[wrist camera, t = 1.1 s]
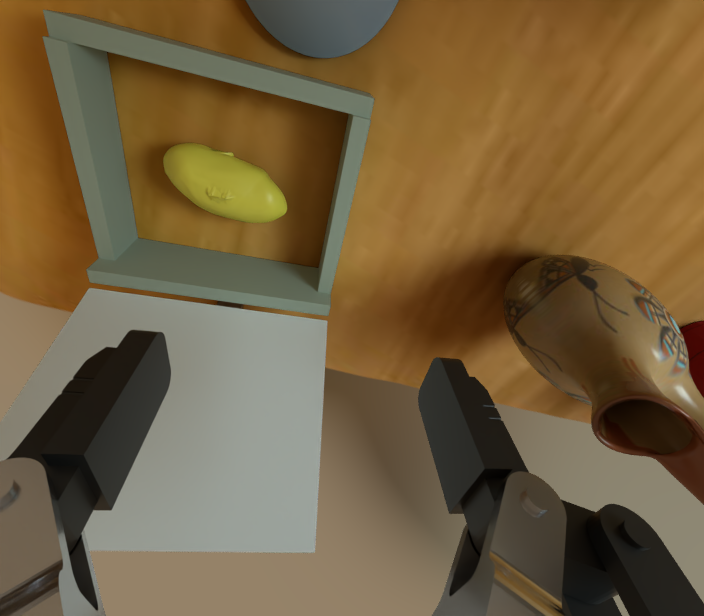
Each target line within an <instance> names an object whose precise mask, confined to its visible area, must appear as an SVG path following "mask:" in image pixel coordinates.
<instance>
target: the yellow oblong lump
mask: <svg viewBox="0 0 704 616" xmlns="http://www.w3.org/2000/svg"><path fill="white" fill-rule="evenodd" d="M163 165H164V170H165V173H166V174H167V176H168V177H169V179H170V180H171V182H172V183H173V184H174V185H175V187H176V188H177V189H178V190H179V191H180V192H181V193H183V194H184V195H185V196H186V197H187V198H188V199H190V200H191V201H192V202H193V203H194V204H196V205H197V206H199V207H200V208H202V209H204V210H206V211H208V212H210V213H213V214H216V215H218V216H222V217H226V218H230V219H234V220H238V221H242V222H248V223H266V222H270V221H273V220H276V219H278V218H280V217H281V216H283V215H284V214H285V213H286V211H287V203H286V199H285V197H284V195H283V193H282V191H281V190H280V189H279V188H278V186H277V185H276V184H275V183H274V182H273V181H272V180H271V179H270V177H269V176H268V174H267V173H266V172H265V171H264V170H263V169H262V168H260V167H258V166H255V165H252V164H250V163H247V162H245V161H243V160H240V159H238V158H235V157H234V154H233V152H231V153H228V152H222V151H218V150H215V149H212V148H210V147H207V146H204V145H201V144H197V143H183V144H178V145H175V146H173V147H171V148H170V149H169V150H168V151H167V152H166V154H165V155H164V158H163Z"/></svg>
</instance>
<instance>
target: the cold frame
mask: <svg viewBox="0 0 704 616" xmlns="http://www.w3.org/2000/svg"><path fill="white" fill-rule="evenodd" d="M43 12H44V16H45V20H46V25H47V29H48V33H49V37H46V36H42V37H43V41H44V44H45V48H46V52H47V56H48V60H49V64H50V68H51V72H52V76H53V80H54V84H55V88H56V92H57V96H58V100H59V103H60V107H61V111H62V115H63V119H64V123H65V127H66V131H67V135H68V139H69V143H70V147H71V151H72V155H73V159H74V162H75V166H76V170H77V174H78V178H79V182H80V186H81V190H82V194H83V198H84V202H85V206H86V210H87V214H88V218H89V221H90V225H91V229H92V233H93V237H94V241H95V245H96V249H97V253H98V257H99V259H97V260H96V261H95V262H94V263H93V264H92V265H91V266H90V267H89V268H87V269H86V271H87V274H88V278H89V281H90V283H97V284H104V285H111V286H119V287H126V288H133V289H140V290H147V291H154V292H161V293H168V294H175V295H182V296H189V297H196V298H204V299H211V300H218V301H225V302H232V303H239V304H246V305H253V306H260V307H267V308H274V309H282V310H289V311H296V312H303V313H310V314H317V315H324V316H328V315H329V311H330V307H331V290H332V286H333V281H334V277H335V273H336V268H337V264H338V260H339V256H340V251H341V247H342V243H343V238H344V234H345V230H346V225H347V221H348V217H349V213H350V208H351V204H352V200H353V195H354V191H355V187H356V182H357V178H358V174H359V170H360V165H361V161H362V157H363V152H364V148H365V144H366V140H367V135H368V131H369V127H370V122H371V120H370V117H371V113H372V108H373V104H374V100H375V99H374V98H373V97H372V96H371V95H370V94H369V93H366V92H363V91H359V90H355V89H352V88H348V87H344V86H341V85H337V84H333V83H329V82H326V81H322V80H318V79H315V78H311V77H307V76H304V75H300V74H296V73H293V72H289V71H285V70H282V69H278V68H274V67H270V66H267V65H263V64H259V63H256V62H252V61H248V60H245V59H241V58H237V57H234V56H230V55H226V54H223V53H219V52H215V51H211V50H208V49H204V48H200V47H197V46H193V45H189V44H186V43H182V42H178V41H175V40H171V39H167V38H164V37H160V36H156V35H152V34H149V33H145V32H141V31H138V30H134V29H130V28H127V27H123V26H119V25H116V24H112V23H108V22H105V21H101V20H97V19H93V18H90V17H86V16H82V15H77V14H70V13H63V12H56V11H49V10H43ZM107 52H111V53H115V54H119V55H123V56H127V57H131V58H134V59H138V60H142V61H146V62H150V63H154V64H158V65H162V66H166V67H170V68H173V69H177V70H181V71H185V72H189V73H193V74H197V75H201V76H205V77H208V78H212V79H216V80H220V81H224V82H228V83H232V84H236V85H240V86H244V87H247V88H251V89H255V90H259V91H263V92H267V93H271V94H275V95H279V96H283V97H286V98H290V99H294V100H298V101H302V102H306V103H310V104H314V105H318V106H321V107H325V108H329V109H333V110H337V111H341V112H345V113H349V115H348V121H347V126H346V131H345V136H344V141H343V146H342V151H341V156H340V161H339V167H338V172H337V177H336V182H335V187H334V192H333V197H332V202H331V207H330V213H329V218H328V223H327V228H326V233H325V238H324V243H323V248H322V253H321V259H320V264H319V268H315V267H309V266H303V265H297V264H291V263H285V262H279V261H273V260H267V259H261V258H255V257H249V256H243V255H237V254H231V253H225V252H219V251H213V250H207V249H201V248H195V247H189V246H183V245H177V244H171V243H165V242H159V241H153V240H147V239H141V238H138V235H137V229H136V223H135V217H134V211H133V205H132V199H131V193H130V187H129V181H128V175H127V169H126V163H125V157H124V151H123V145H122V139H121V134H120V128H119V122H118V116H117V110H116V104H115V98H114V92H113V86H112V80H111V74H110V68H109V62H108V56H107Z"/></svg>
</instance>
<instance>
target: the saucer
mask: <svg viewBox="0 0 704 616" xmlns="http://www.w3.org/2000/svg"><path fill="white" fill-rule="evenodd" d="M246 2H247V3H248V5H249V7H250V9H251V10H252V12H253V13H254V15H255V16H256V18H257V19H258V20H259V22H260V23H261V24H262V25H263V26H264V27H265V29H266V30H267V31H268V32H269V33H270V34H271V35H273V36H274V37H275V38H276V39H277V40H278V41H280V42H281V43H282V44H284V45H285V46H287V47H288V48H290V49H292V50H294V51H296V52H298V53H301V54H304V55H306V56H311V57H316V58H333V57H339V56H342V55H346V54H349V53H351V52H353V51H355V50H357V49H359V48H360V47H362V46H363V45H365V44H366V43H368V42H369V41H370V40H371V39H372V38H373V37H374V36H375V35H376V34H377V33H378V32H379V31H380V30H381V28H382V27H383V26H384V25H385V23H386V22H387V20H388V19H389V17H390V16H391V14H392V12H393V10H394V8H395V7H396V5H397V3H398V0H246Z"/></svg>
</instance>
